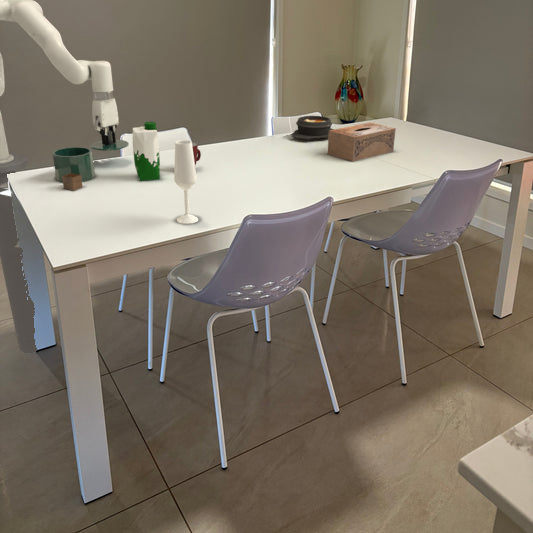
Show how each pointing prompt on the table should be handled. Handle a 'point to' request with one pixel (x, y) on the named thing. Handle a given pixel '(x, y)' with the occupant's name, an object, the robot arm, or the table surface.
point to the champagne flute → (185, 175)
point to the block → (72, 181)
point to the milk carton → (146, 152)
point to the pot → (74, 162)
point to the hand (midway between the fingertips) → (109, 143)
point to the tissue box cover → (361, 141)
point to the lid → (112, 146)
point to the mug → (196, 152)
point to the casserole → (312, 127)
